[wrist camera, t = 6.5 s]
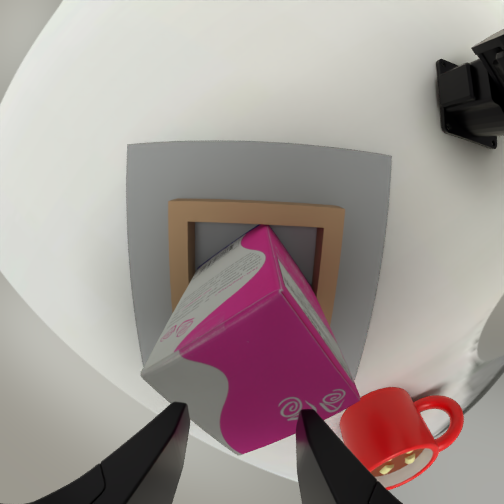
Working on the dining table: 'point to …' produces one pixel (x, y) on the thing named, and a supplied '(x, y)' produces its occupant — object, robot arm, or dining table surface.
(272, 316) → the supplement box
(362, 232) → the holder
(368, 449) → the mug
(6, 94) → the dining table surface
